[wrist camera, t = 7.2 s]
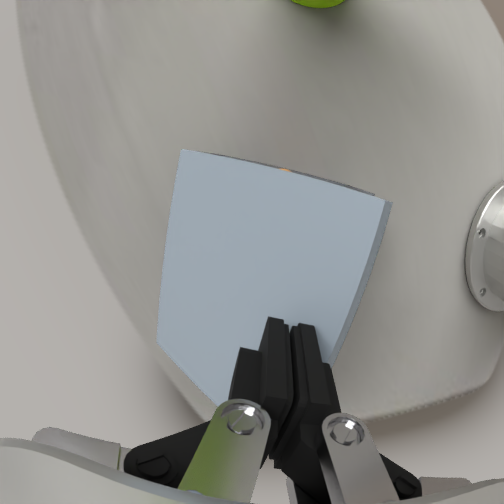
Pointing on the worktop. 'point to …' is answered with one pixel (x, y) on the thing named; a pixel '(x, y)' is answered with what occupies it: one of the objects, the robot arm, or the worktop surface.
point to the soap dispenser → (318, 3)
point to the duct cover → (259, 262)
